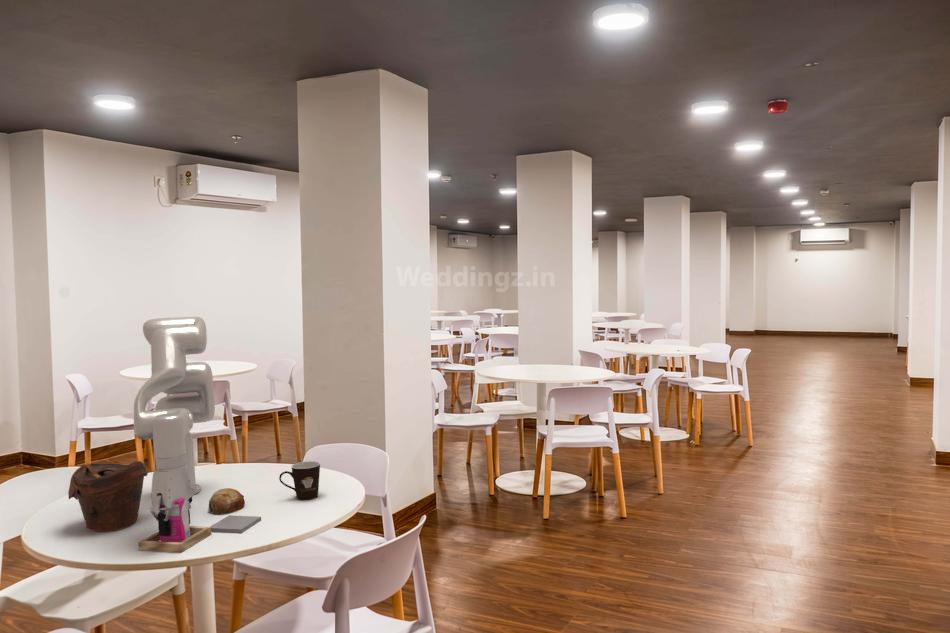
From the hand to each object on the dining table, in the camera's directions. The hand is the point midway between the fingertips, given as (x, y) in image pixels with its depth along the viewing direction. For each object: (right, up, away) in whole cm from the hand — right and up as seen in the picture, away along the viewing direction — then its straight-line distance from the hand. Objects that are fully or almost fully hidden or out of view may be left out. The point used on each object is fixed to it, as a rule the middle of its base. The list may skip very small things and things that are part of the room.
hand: (175, 529), depth 180 cm
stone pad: (+12, -2, +11) cm, 16 cm away
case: (-25, -4, +16) cm, 30 cm away
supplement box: (0, -3, 0) cm, 4 cm away
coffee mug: (+25, -1, +34) cm, 42 cm away
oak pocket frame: (0, -3, 0) cm, 3 cm away
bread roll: (+4, -2, +26) cm, 27 cm away
